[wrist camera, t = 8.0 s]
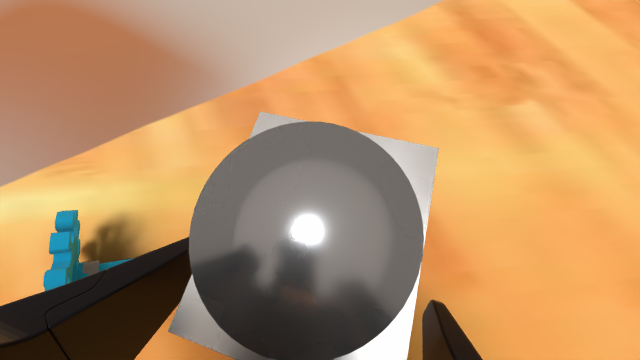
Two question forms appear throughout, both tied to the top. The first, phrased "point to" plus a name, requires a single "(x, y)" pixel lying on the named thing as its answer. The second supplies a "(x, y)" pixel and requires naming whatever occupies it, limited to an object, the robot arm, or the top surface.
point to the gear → (69, 253)
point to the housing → (308, 245)
